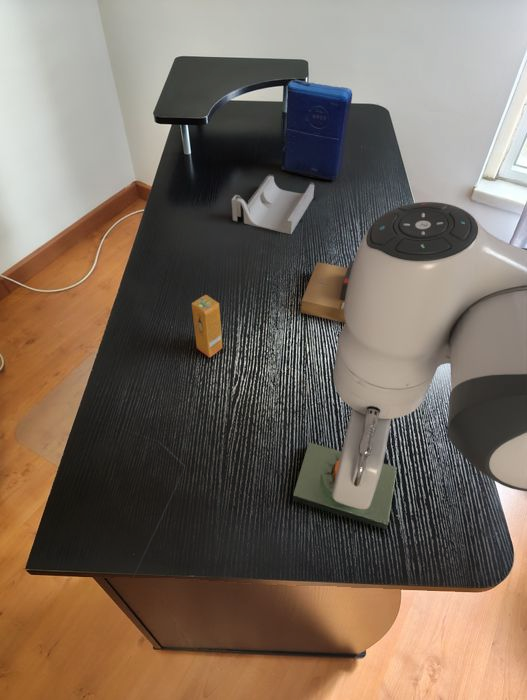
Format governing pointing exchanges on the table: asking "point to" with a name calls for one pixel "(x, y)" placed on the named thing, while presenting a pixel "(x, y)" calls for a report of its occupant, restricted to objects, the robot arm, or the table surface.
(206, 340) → the supplement box
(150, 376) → the table surface
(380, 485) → the button box
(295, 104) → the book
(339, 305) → the control panel
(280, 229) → the white curved channel piece
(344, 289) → the dark grey block
